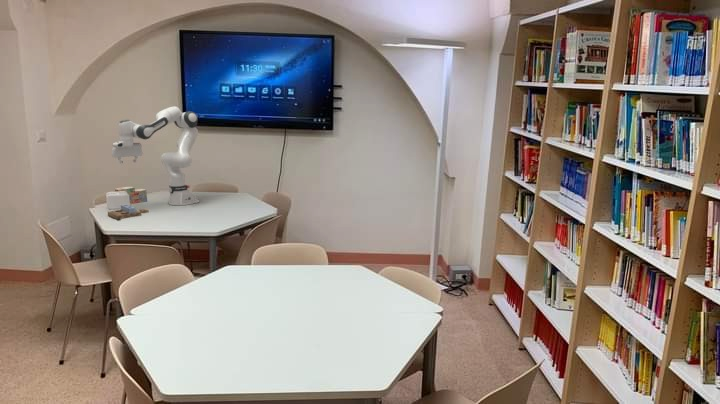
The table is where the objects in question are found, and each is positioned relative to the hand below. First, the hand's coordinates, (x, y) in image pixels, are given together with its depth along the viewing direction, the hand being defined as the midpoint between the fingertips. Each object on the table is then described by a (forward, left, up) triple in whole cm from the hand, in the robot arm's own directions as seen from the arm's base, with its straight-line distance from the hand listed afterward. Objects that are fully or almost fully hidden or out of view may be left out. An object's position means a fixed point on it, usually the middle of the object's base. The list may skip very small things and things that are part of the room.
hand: (128, 162), depth 361 cm
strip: (+9, +17, -33) cm, 38 cm away
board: (+12, +17, -34) cm, 40 cm away
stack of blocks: (-9, -20, -34) cm, 41 cm away
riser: (-2, +17, -34) cm, 38 cm away
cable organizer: (+6, -8, -34) cm, 36 cm away
